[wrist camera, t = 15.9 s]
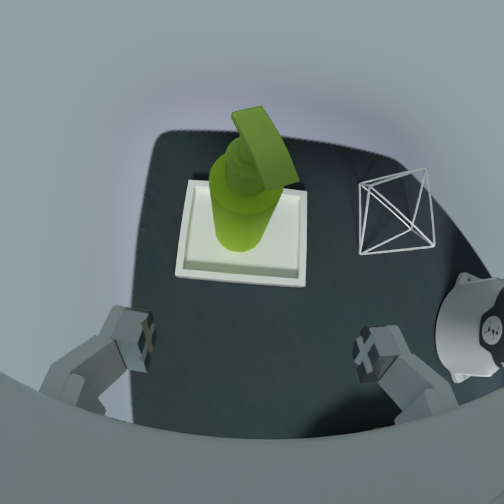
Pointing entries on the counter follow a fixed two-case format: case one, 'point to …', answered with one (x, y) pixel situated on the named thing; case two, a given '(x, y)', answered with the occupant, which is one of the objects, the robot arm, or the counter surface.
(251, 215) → the soap dispenser
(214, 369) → the counter surface
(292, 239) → the tray
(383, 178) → the geometric polyhedron
